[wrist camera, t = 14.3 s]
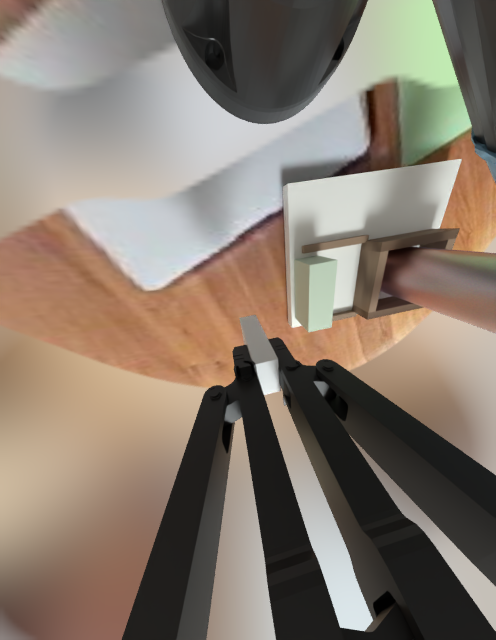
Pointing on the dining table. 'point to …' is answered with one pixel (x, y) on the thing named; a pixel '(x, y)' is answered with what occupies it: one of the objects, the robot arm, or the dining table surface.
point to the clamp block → (314, 291)
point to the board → (359, 219)
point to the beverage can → (445, 282)
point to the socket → (374, 266)
